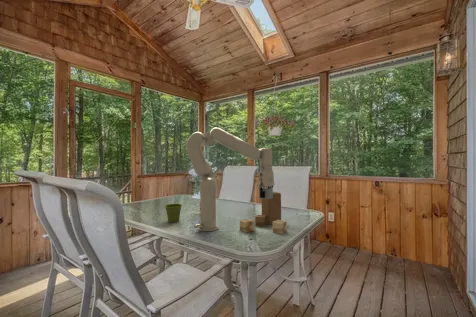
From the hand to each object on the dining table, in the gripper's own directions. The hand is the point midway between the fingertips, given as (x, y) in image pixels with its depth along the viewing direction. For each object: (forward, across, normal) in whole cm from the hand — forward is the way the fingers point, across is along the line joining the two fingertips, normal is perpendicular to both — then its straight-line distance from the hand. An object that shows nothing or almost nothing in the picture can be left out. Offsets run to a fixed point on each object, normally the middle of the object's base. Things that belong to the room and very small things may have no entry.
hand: (266, 196), depth 144 cm
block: (+19, +14, +6) cm, 24 cm away
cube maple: (+19, 0, -10) cm, 22 cm away
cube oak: (+19, -12, +6) cm, 23 cm away
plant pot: (+20, -30, +58) cm, 68 cm away
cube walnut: (+19, +4, +7) cm, 21 cm away
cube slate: (+1, 0, 0) cm, 1 cm away
